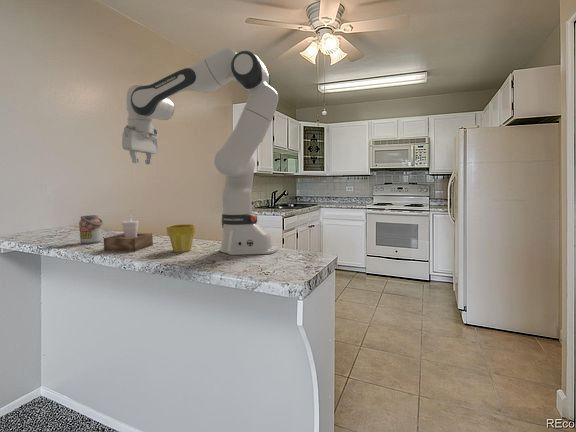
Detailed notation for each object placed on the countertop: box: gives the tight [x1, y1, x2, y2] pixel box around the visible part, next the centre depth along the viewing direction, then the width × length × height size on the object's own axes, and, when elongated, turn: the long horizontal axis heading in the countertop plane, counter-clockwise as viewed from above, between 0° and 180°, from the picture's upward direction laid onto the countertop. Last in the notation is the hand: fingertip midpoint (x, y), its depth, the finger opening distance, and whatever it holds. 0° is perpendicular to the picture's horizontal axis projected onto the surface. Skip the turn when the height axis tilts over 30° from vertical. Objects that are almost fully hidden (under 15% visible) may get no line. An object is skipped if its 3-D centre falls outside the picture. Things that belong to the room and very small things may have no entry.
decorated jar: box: [78, 214, 104, 245], centre depth 145 cm, size 9×8×12 cm
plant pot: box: [166, 223, 196, 253], centre depth 127 cm, size 10×10×10 cm
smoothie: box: [121, 210, 140, 238], centre depth 133 cm, size 6×6×14 cm
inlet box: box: [102, 232, 154, 252], centre depth 133 cm, size 13×13×5 cm
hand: (142, 163), depth 132 cm, fingers open, 8 cm apart
